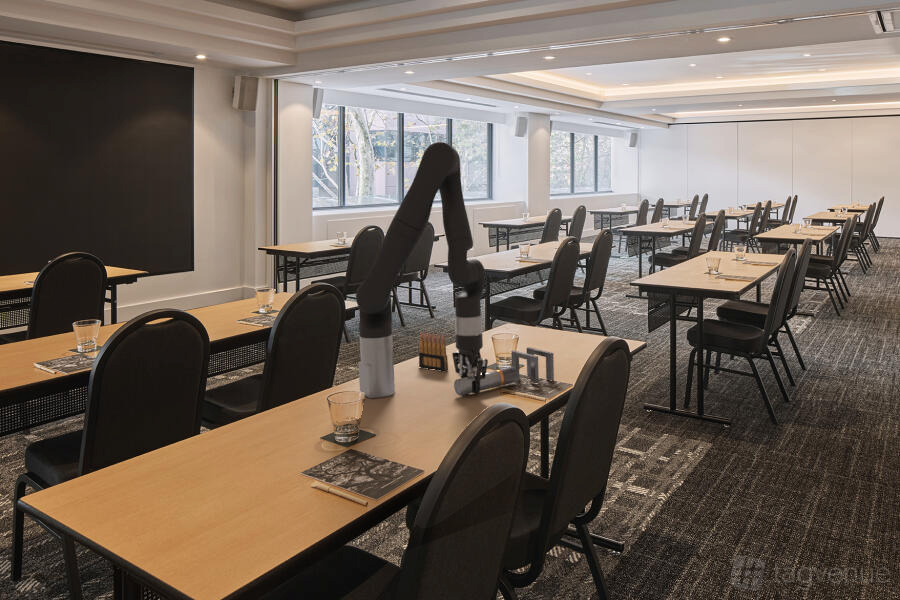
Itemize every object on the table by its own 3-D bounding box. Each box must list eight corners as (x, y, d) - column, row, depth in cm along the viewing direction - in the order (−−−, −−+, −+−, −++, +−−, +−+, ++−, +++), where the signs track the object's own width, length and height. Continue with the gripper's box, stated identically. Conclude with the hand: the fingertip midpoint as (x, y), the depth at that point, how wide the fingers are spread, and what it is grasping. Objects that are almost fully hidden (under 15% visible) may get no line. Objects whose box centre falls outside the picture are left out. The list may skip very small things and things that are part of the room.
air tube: (464, 397, 203) (463, 380, 203) (454, 393, 207) (453, 377, 206) (519, 383, 214) (519, 368, 214) (509, 380, 218) (508, 365, 218)
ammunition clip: (419, 367, 240) (417, 331, 238) (422, 366, 241) (420, 330, 239) (444, 372, 233) (443, 335, 231) (448, 370, 235) (446, 333, 233)
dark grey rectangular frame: (550, 381, 218) (550, 353, 216) (527, 374, 226) (526, 347, 225) (553, 380, 218) (553, 353, 217) (530, 373, 227) (529, 347, 226)
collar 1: (535, 385, 214) (535, 357, 213) (512, 378, 223) (511, 351, 222) (538, 384, 215) (538, 356, 214) (515, 377, 224) (514, 350, 222)
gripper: (443, 329, 208) (445, 388, 211) (473, 337, 197) (475, 399, 199) (464, 326, 213) (466, 383, 215) (495, 333, 201) (497, 393, 204)
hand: (470, 390), depth 207 cm, fingers closed on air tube, 4 cm apart
